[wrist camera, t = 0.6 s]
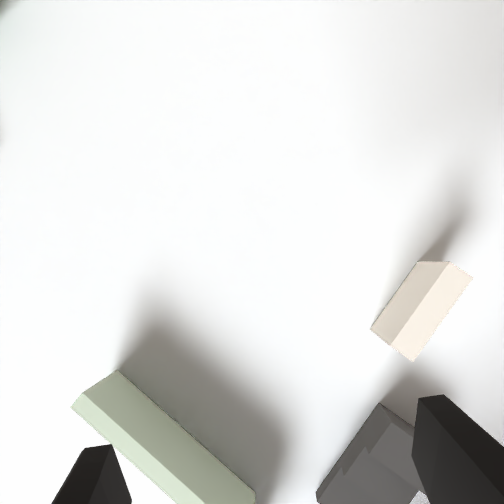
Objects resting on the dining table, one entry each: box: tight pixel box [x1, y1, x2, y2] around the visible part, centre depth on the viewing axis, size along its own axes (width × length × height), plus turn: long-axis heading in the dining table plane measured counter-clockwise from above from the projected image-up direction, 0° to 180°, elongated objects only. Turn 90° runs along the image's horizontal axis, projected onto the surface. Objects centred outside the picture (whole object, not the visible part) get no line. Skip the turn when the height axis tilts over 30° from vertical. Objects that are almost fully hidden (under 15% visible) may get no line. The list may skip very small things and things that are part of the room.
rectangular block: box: [370, 261, 473, 362], centre depth 28 cm, size 28×2×6 cm, turn 145°
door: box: [71, 370, 256, 504], centre depth 29 cm, size 14×2×6 cm, turn 50°
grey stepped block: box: [316, 403, 426, 504], centre depth 29 cm, size 8×4×4 cm, turn 146°
